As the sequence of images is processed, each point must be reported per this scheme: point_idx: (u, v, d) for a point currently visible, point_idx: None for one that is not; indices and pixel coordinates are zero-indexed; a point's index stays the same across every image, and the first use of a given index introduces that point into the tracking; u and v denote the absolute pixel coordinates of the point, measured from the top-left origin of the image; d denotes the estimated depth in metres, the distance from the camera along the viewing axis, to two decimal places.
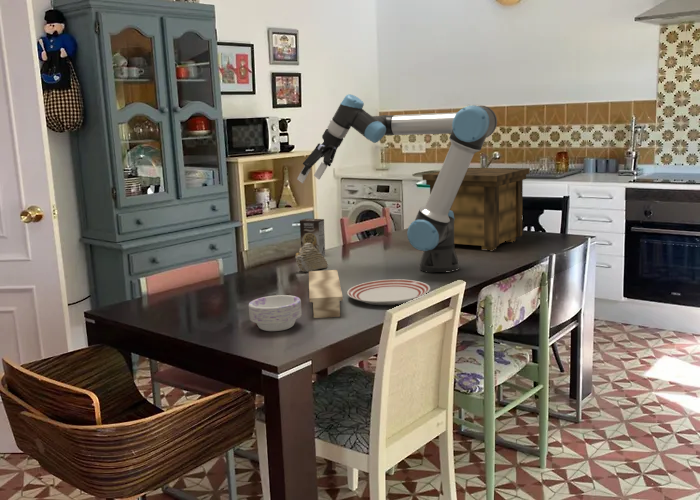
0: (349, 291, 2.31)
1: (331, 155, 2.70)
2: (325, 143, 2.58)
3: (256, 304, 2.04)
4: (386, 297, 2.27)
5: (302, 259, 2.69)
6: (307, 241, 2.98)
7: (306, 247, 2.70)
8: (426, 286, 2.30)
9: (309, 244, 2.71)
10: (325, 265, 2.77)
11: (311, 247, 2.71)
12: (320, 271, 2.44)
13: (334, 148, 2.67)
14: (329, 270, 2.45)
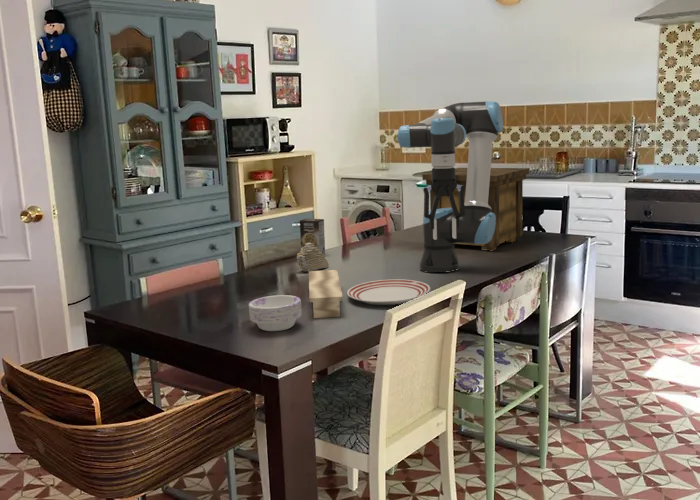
0: (349, 291, 2.31)
1: None
2: None
3: (256, 304, 2.03)
4: (386, 297, 2.27)
5: (304, 259, 2.69)
6: (307, 241, 2.98)
7: (307, 247, 2.70)
8: (426, 286, 2.30)
9: (310, 244, 2.71)
10: (326, 265, 2.77)
11: (312, 247, 2.72)
12: (320, 271, 2.44)
13: None
14: (329, 270, 2.45)
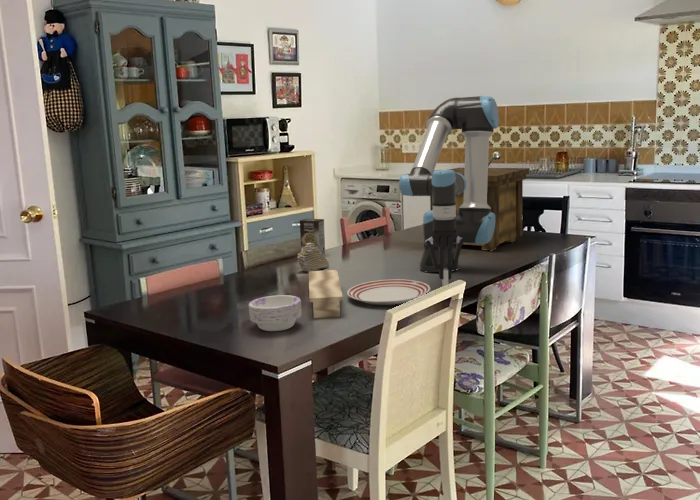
0: (349, 291, 2.31)
1: None
2: None
3: (256, 304, 2.03)
4: (386, 297, 2.27)
5: (304, 259, 2.69)
6: (307, 241, 2.98)
7: (308, 247, 2.70)
8: (426, 286, 2.30)
9: (311, 244, 2.71)
10: (326, 265, 2.77)
11: (313, 247, 2.72)
12: (320, 271, 2.44)
13: None
14: (329, 270, 2.45)
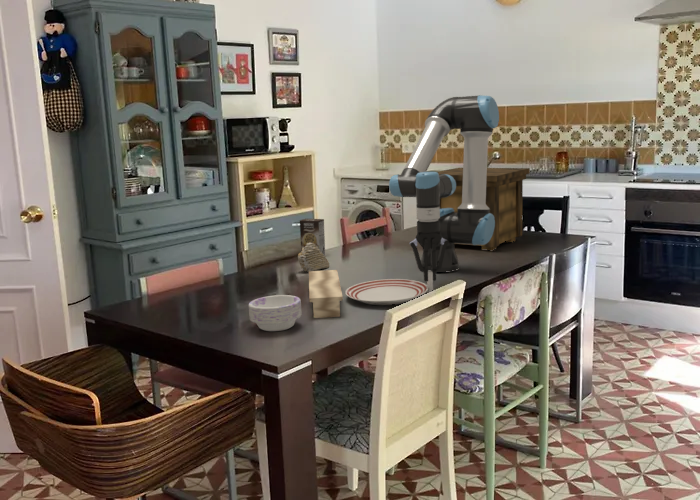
0: (347, 291, 2.30)
1: None
2: None
3: (256, 304, 2.03)
4: (384, 297, 2.27)
5: (305, 259, 2.69)
6: (307, 241, 2.98)
7: (308, 247, 2.70)
8: (424, 286, 2.30)
9: (311, 244, 2.71)
10: (327, 265, 2.77)
11: (313, 247, 2.72)
12: (320, 271, 2.44)
13: None
14: (329, 270, 2.45)
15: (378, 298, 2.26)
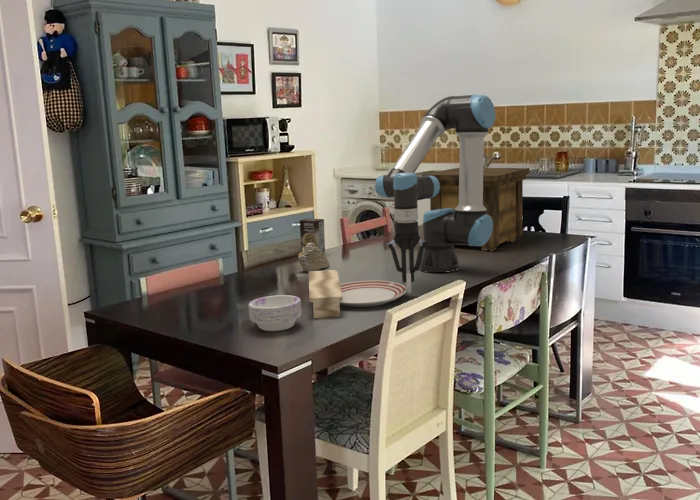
0: None
1: None
2: None
3: (256, 304, 2.04)
4: (362, 298, 2.26)
5: (305, 259, 2.69)
6: (307, 241, 2.98)
7: (309, 247, 2.70)
8: (403, 287, 2.30)
9: (312, 244, 2.72)
10: (327, 265, 2.77)
11: (314, 247, 2.72)
12: (320, 271, 2.44)
13: None
14: (329, 270, 2.45)
15: (356, 300, 2.25)
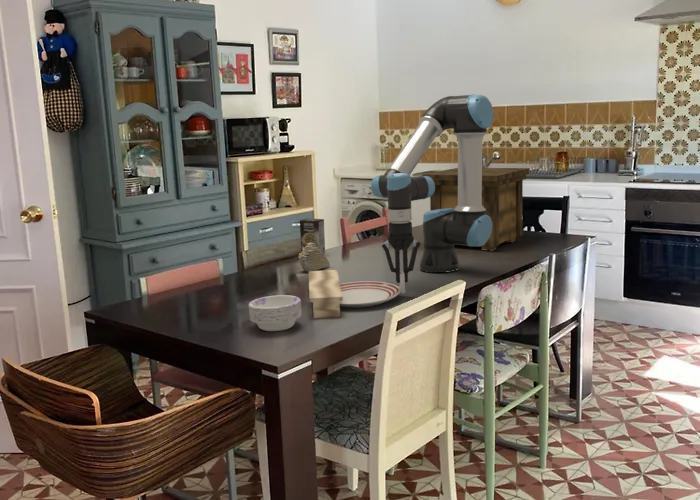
0: None
1: None
2: (411, 233, 2.26)
3: (256, 304, 2.04)
4: (356, 299, 2.26)
5: (305, 259, 2.69)
6: (307, 241, 2.98)
7: (309, 247, 2.70)
8: (396, 288, 2.30)
9: (312, 244, 2.72)
10: (327, 265, 2.77)
11: (314, 247, 2.72)
12: (320, 271, 2.44)
13: None
14: (329, 270, 2.45)
15: (350, 301, 2.25)
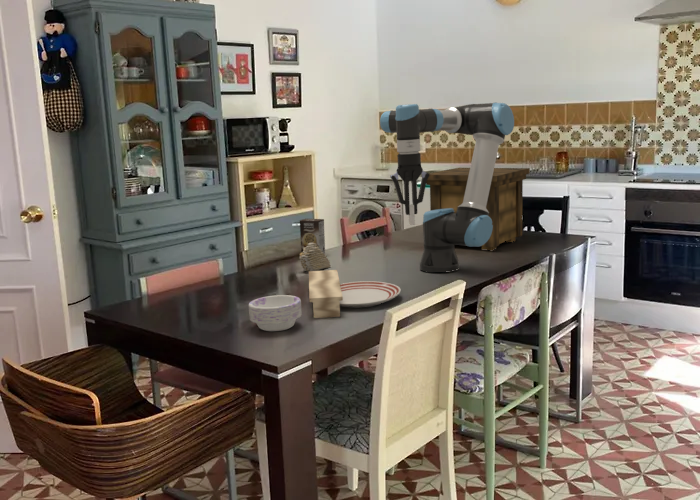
0: None
1: None
2: None
3: (256, 304, 2.04)
4: (356, 299, 2.26)
5: (306, 259, 2.69)
6: (307, 241, 2.98)
7: (310, 247, 2.70)
8: (396, 288, 2.30)
9: (313, 244, 2.72)
10: (328, 265, 2.77)
11: (315, 247, 2.72)
12: (320, 271, 2.44)
13: None
14: (329, 270, 2.45)
15: (350, 301, 2.25)
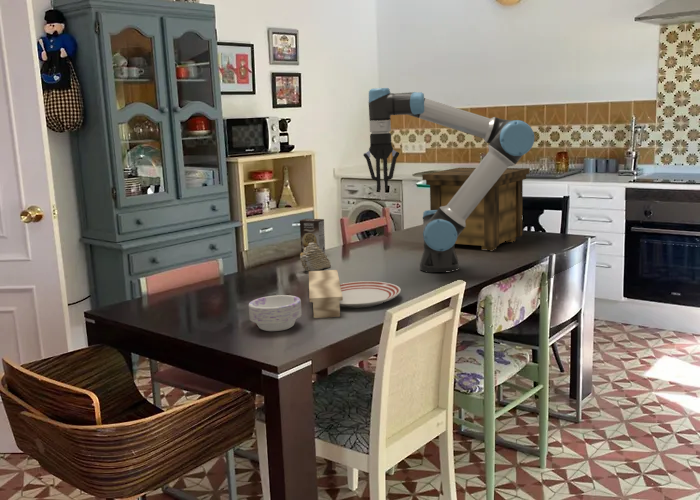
0: None
1: None
2: None
3: (256, 304, 2.04)
4: (356, 299, 2.26)
5: (307, 259, 2.69)
6: (307, 241, 2.98)
7: (311, 247, 2.70)
8: (396, 288, 2.30)
9: (313, 244, 2.72)
10: (328, 264, 2.77)
11: (315, 247, 2.72)
12: (320, 271, 2.44)
13: None
14: (329, 270, 2.45)
15: (350, 301, 2.25)
